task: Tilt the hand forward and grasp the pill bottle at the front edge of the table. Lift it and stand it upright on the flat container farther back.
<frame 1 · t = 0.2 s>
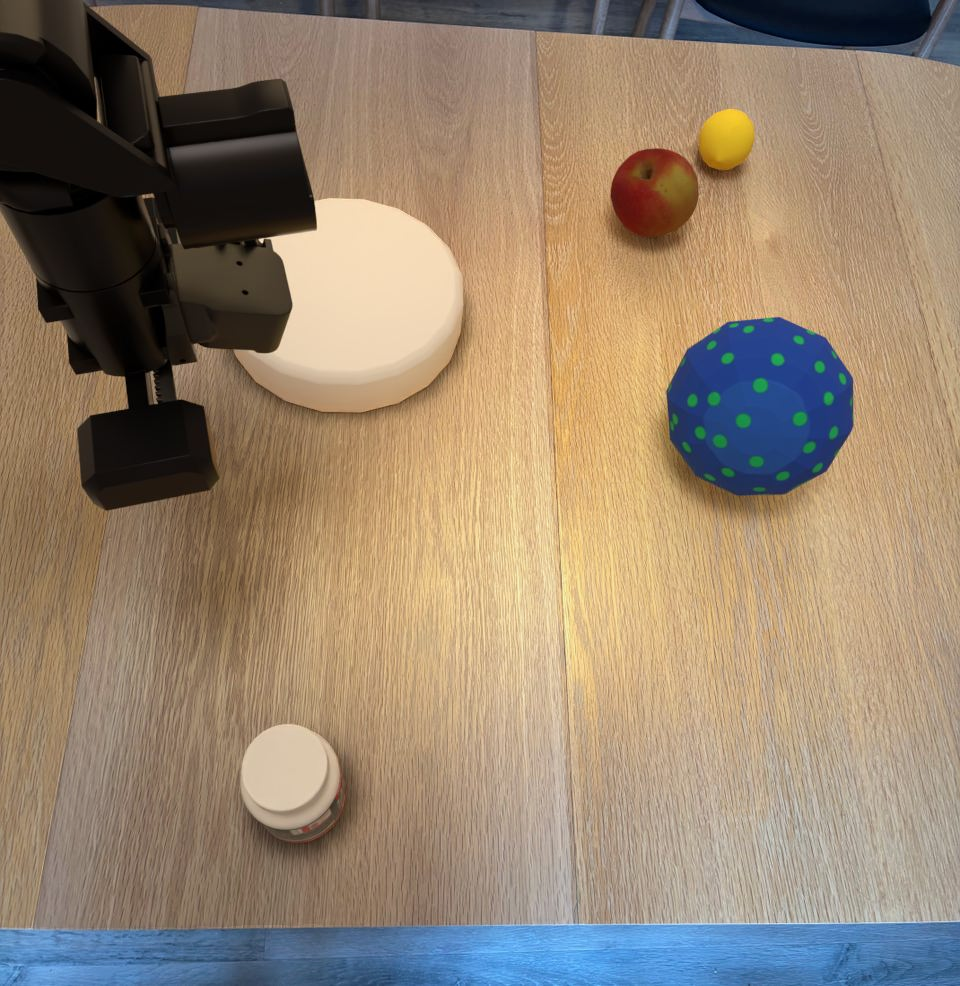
hand: (172, 426, 54), 12 cm above the table, tool pointing down, fingers open, 9 cm apart
container: (346, 318, 74), on the table
lemon: (716, 162, 88), on the table
apple: (642, 227, 83), on the table
green-spotted blue ball: (728, 448, 72), on the table
pill bottle: (301, 797, 56), on the table
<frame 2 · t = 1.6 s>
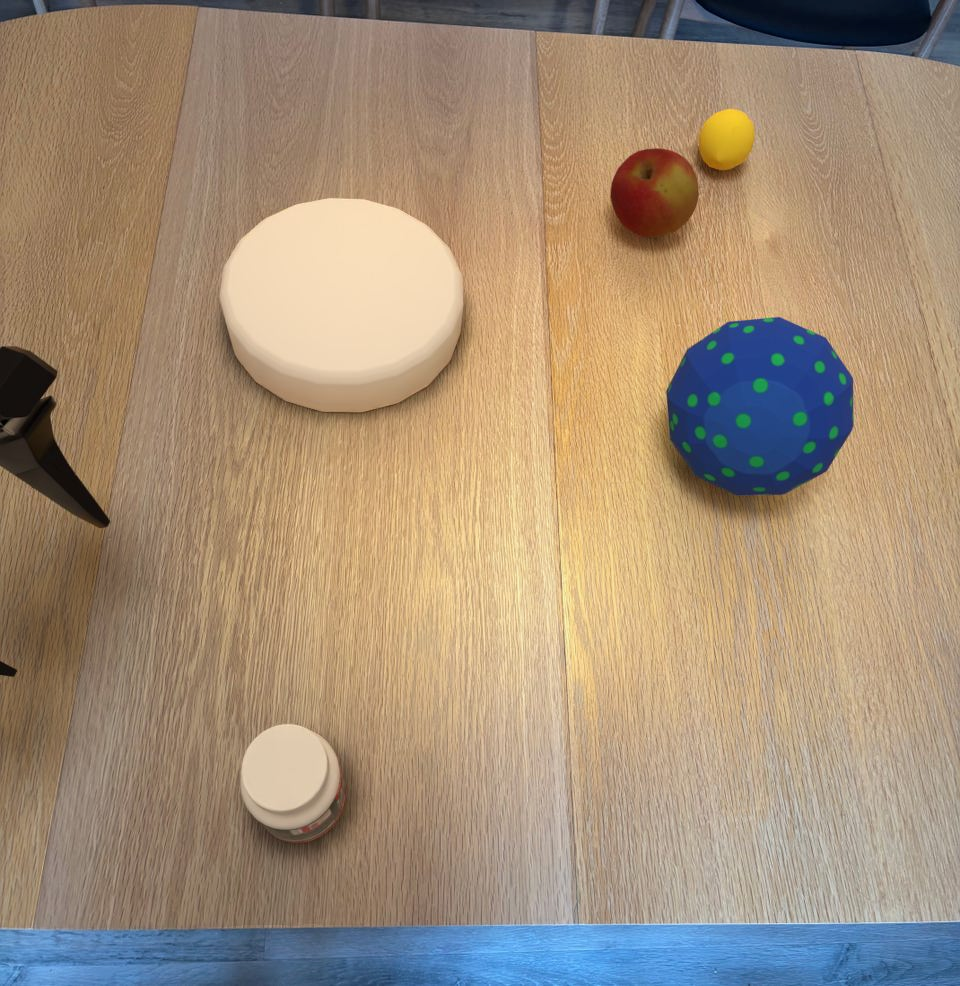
hand: (61, 596, 47), 13 cm above the table, tool tilted 45°, fingers open, 9 cm apart
nothing on the table moved.
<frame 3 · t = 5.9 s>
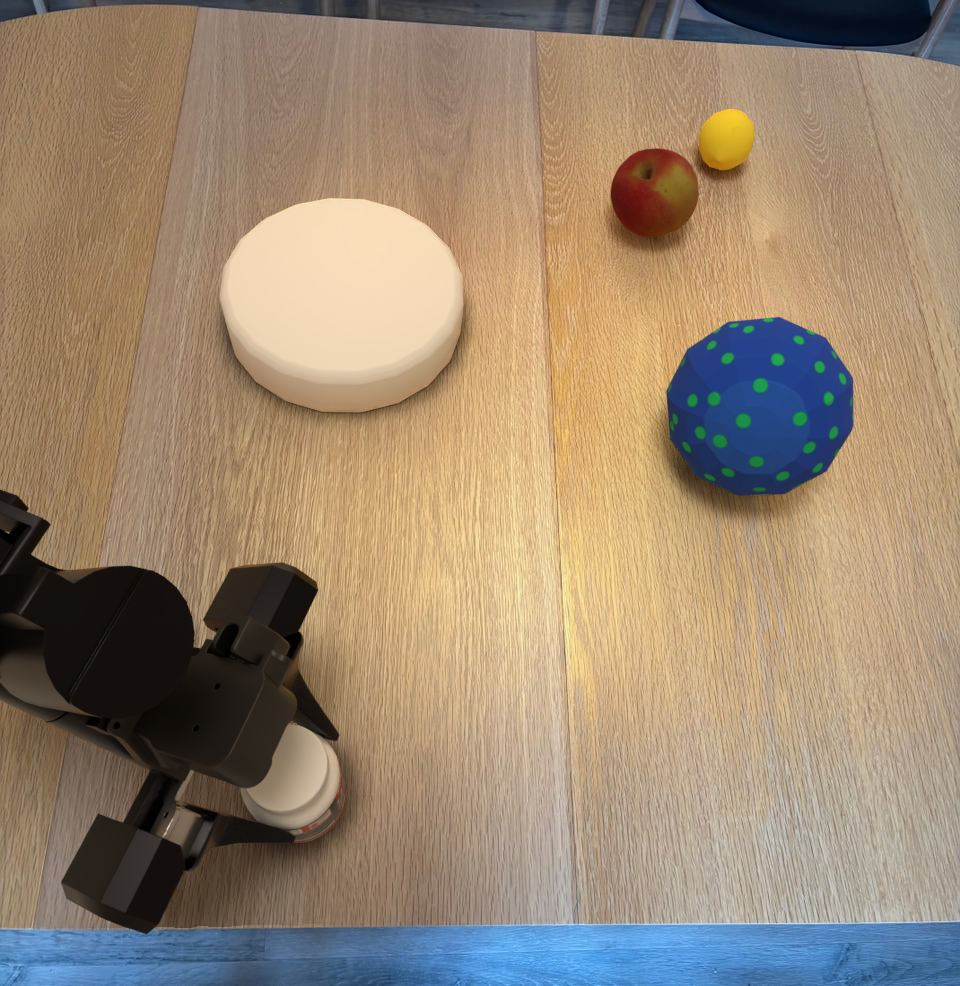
hand: (313, 787, 50), 7 cm above the table, tool tilted 45°, fingers closed on pill bottle, 6 cm apart
pill bottle: (302, 797, 56), on the table, touching gripper
everything else where it was.
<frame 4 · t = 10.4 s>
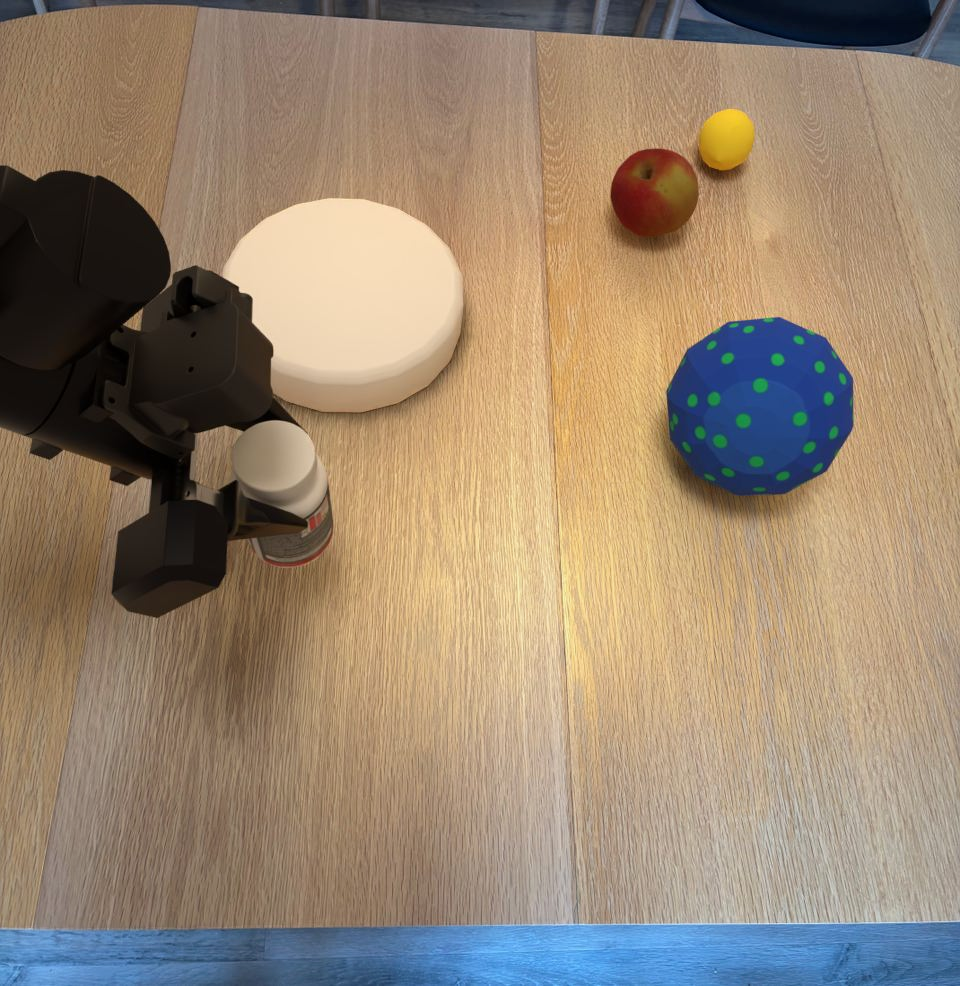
hand: (303, 483, 51), 13 cm above the table, tool tilted 45°, fingers closed on pill bottle, 6 cm apart
pill bottle: (290, 532, 57), point 6 cm above the table, touching gripper
everything else where it was.
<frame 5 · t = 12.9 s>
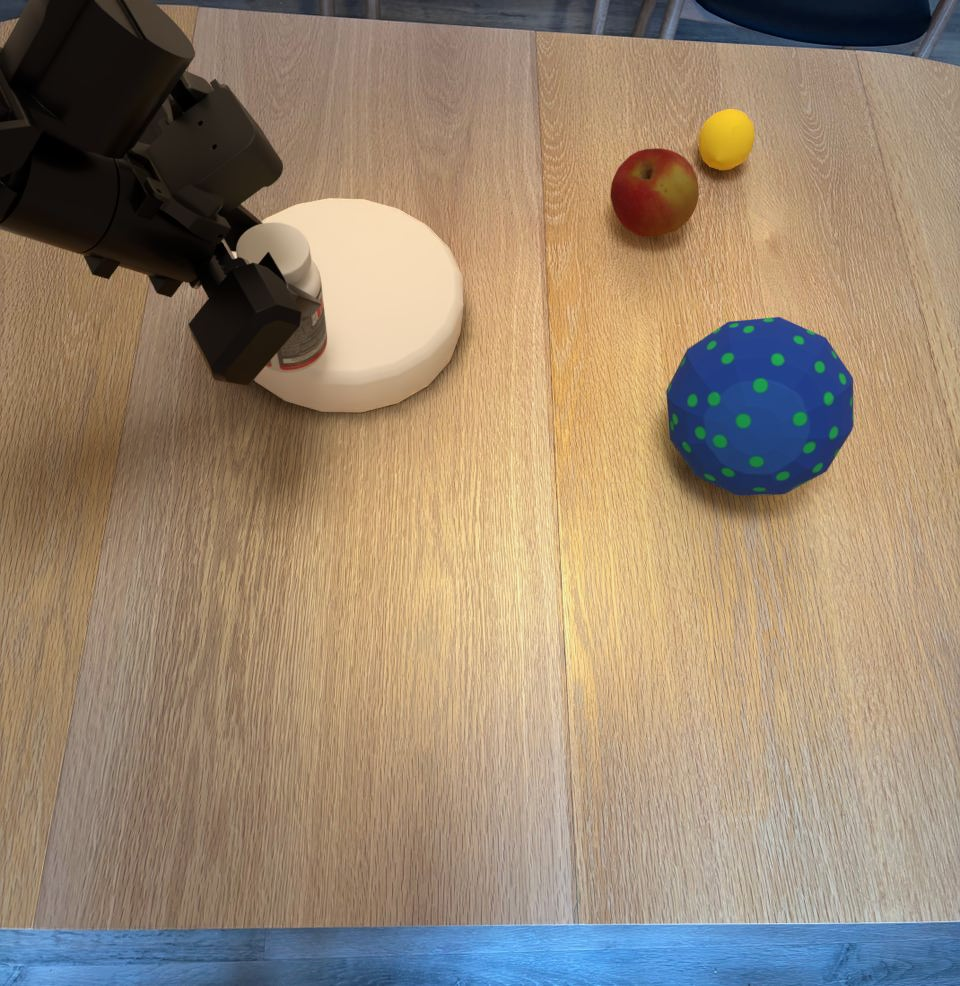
hand: (297, 277, 59), 13 cm above the table, tool tilted 45°, fingers closed on pill bottle, 6 cm apart
pill bottle: (289, 346, 64), point 7 cm above the table, touching gripper
everything else where it was.
when the fingers open (11 cm above the table, at t = 14.8 s): pill bottle stays where it is, resting on container.
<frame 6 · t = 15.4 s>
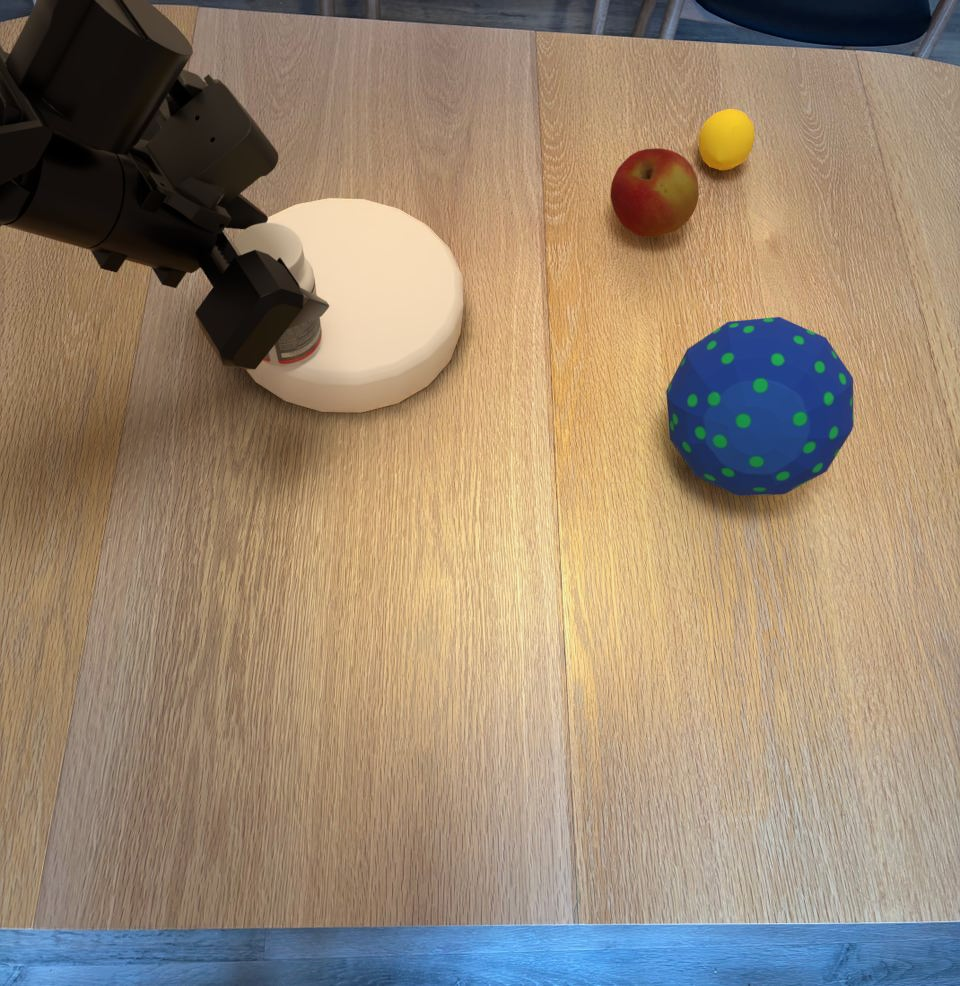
hand: (293, 264, 61), 12 cm above the table, tool tilted 45°, fingers open, 9 cm apart
container: (346, 318, 74), on the table, touching pill bottle
pill bottle: (285, 341, 67), point 4 cm above the table, touching container
everything else where it was.
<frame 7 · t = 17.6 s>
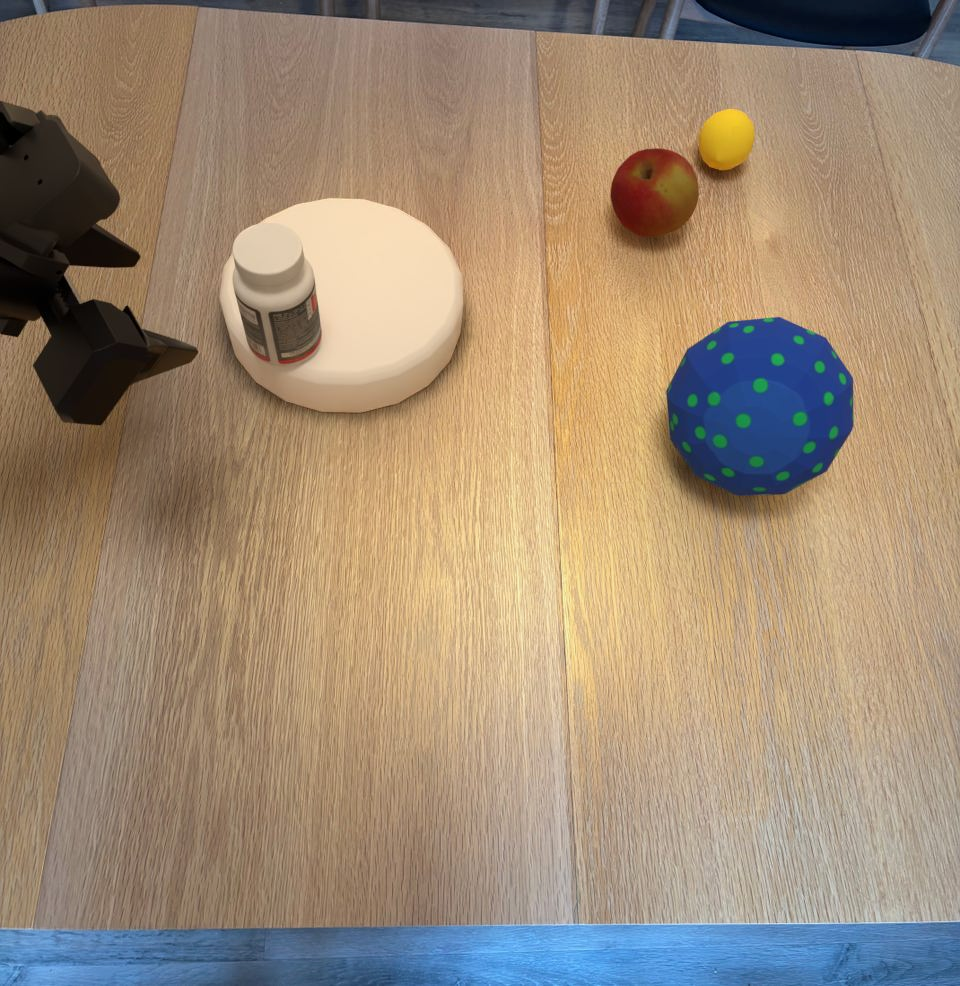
hand: (164, 306, 57), 13 cm above the table, tool tilted 45°, fingers open, 9 cm apart
nothing on the table moved.
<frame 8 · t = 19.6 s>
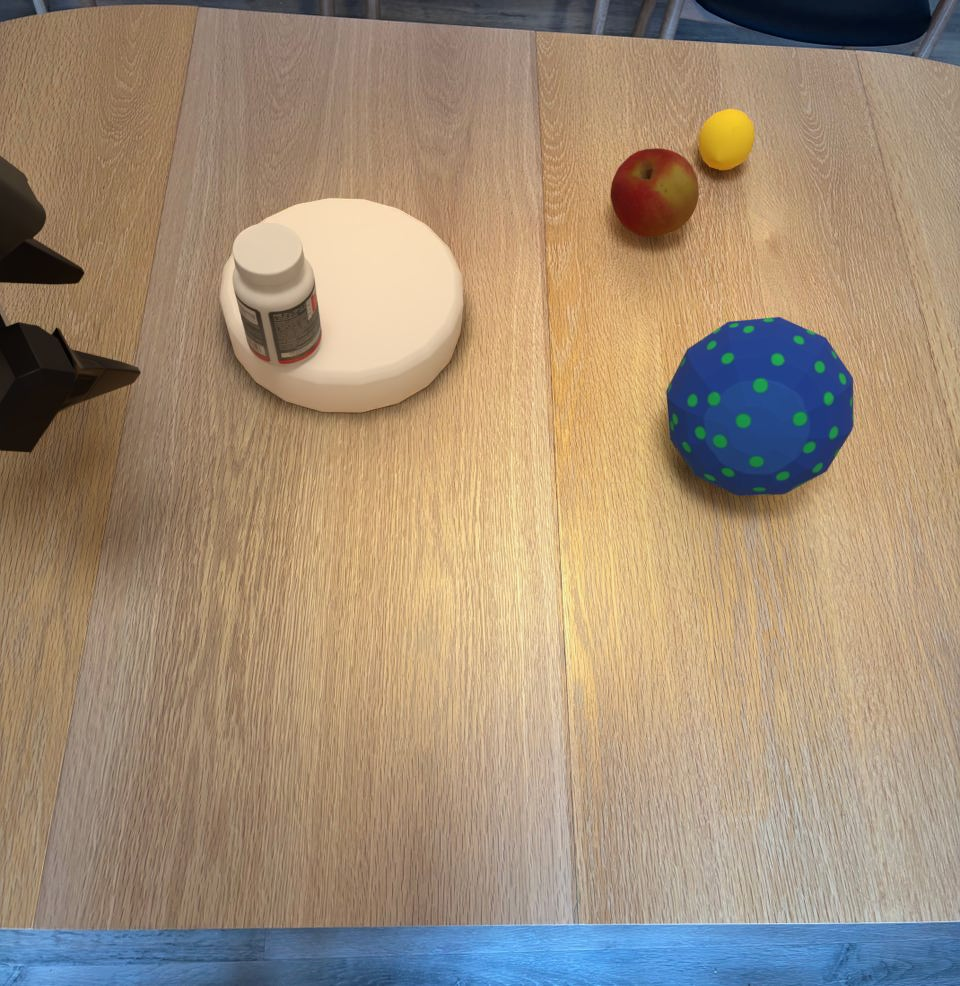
hand: (108, 324, 55), 14 cm above the table, tool tilted 45°, fingers open, 9 cm apart
nothing on the table moved.
at the end: pill bottle inside the target area on the container (7.6 cm from its centre), point 4.7 cm above the container's base; pill bottle tilted 0°; the gripper is holding nothing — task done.
